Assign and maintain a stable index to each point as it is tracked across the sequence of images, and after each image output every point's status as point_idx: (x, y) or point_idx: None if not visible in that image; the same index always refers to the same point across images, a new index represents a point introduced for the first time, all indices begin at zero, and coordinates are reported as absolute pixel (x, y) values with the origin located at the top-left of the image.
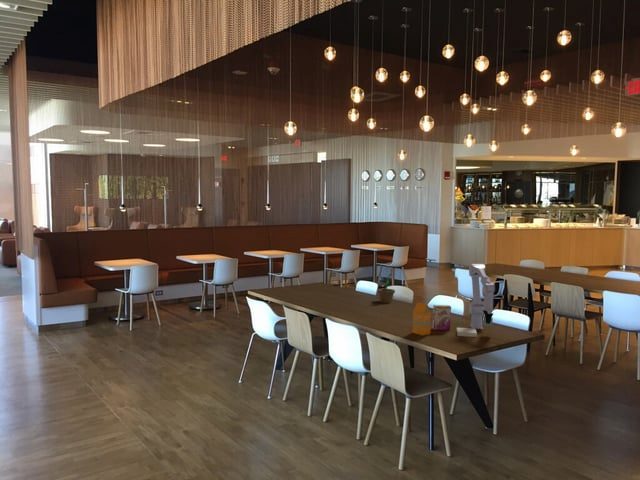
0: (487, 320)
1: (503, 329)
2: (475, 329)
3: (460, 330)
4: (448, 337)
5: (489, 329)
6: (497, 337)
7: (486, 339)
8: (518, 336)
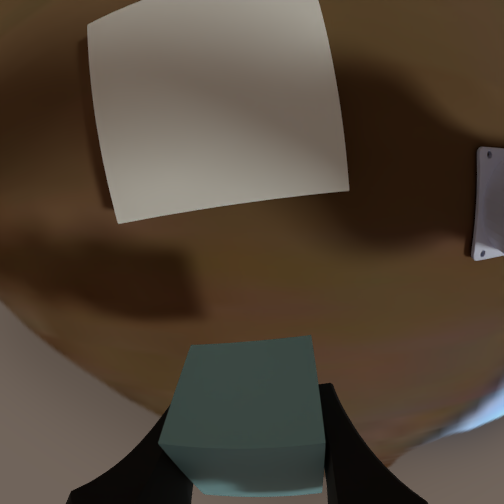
0: None
1: (463, 375)
2: (307, 192)
3: (160, 22)
4: (42, 10)
5: (469, 304)
6: None
7: (105, 292)
8: None
